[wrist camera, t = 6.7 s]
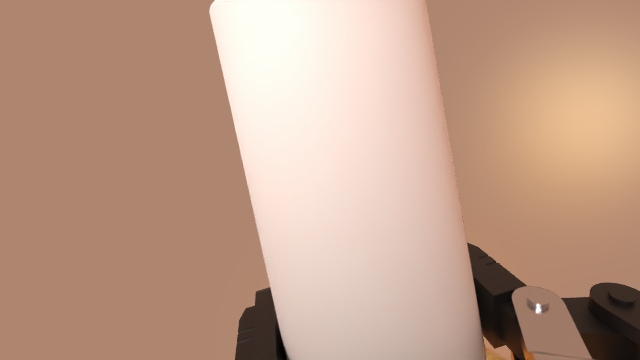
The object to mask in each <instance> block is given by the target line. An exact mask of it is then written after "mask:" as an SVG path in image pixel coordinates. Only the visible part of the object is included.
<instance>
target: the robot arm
mask: <svg viewBox="0 0 640 360" xmlns="http://www.w3.org/2000/svg"><path fill="white" fill-rule="evenodd" d="M467 245H468V251H469V257H470V263H471V269H472V275H473V280H474V286H475V292H476V298H477V304H478V310H479V316H480V321H481V327H482V333H483V336H484V337H485V338H486V339H487V340H488V341H489V343H490V344H491V345H492V346H493V347H494V349H495V348H498V347H501V346H504V345H506V346H507V347H508V348H509V349H510V350H511V359H512V360H640V291H638V290H636V289H634V288H631V287H628V286H625V285H621V284H616V283H599V284H596V285H594V286H593V287H592V288H591V289H590V296H589V297H581V298H560V297H559V296H557V295H556V294H554V293H553V292H550V291H549V290H546V289H543V288H539V287H532V286H526V285H525V284H524V283H523V282H521V281H520V280H519V279H518V278H516V277H515V276H514V275H512V274H511V273H510V272H509V271H508V270H506V269H505V268H504V267H502V266H501V265H500V264H499V263H496V261H495V260H494V259H493V258H491V257H490V256H488V255H487V254H486V253H485V252H484V251H482V250H481V249H480V248H479V247H477V246H474V245H472V244H469V243H467ZM235 360H286V356H285V351H284V347H283V342H282V338H281V333H280V329H279V324H278V320H277V315H276V311H275V306H274V301H273V297H272V292H271V288H270V287H269V288H266V289H263V290H259V291H257V292H256V299H255V306H253V307H249V308H246V309H245V311H244V313H243V314H242V316H241V318H240V320H239V328H238V338H237V347H236V357H235Z"/></svg>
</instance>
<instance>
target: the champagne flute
mask: <svg viewBox="0 0 640 360" xmlns="http://www.w3.org/2000/svg"><path fill="white" fill-rule="evenodd" d="M210 17H211V21H212V26H213V30H214V35H215V39H216V44H217V48H218V53H219V57H220V62H221V67H222V71H223V75H224V80H225V84H226V89H227V93H228V98H229V103H230V107H231V112H232V116H233V121H234V125H235V129H236V134H237V139H238V143H239V148H240V152H241V157H242V161H243V166H244V170H245V175H246V180H247V184H248V188H249V193H250V198H251V202H252V207H253V211H254V216H255V220H256V225H257V229H258V234H259V238H260V243H261V247H262V252H263V256H264V260H265V265H266V270H267V274H268V279H269V283H270V288H271V292H272V297H273V301H274V306H275V311H276V315H277V320H278V324H279V329H280V333H281V338H282V342H283V347H284V351H285V356H286V360H486V353H485V345H484V339H483V333H482V327H481V321H480V316H479V310H478V304H477V298H476V292H475V286H474V280H473V275H472V269H471V263H470V257H469V251H468V245H467V240H466V234H465V228H464V222H463V216H462V210H461V204H460V199H459V193H458V187H457V182H456V175H455V170H454V164H453V158H452V152H451V146H450V140H449V135H448V129H447V123H446V117H445V111H444V105H443V100H442V93H441V87H440V82H439V76H438V70H437V64H436V58H435V52H434V47H433V41H432V35H431V29H430V23H429V17H428V12H427V7H426V0H215V1H214V2H213V4H212V5H211V6H210Z"/></svg>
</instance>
